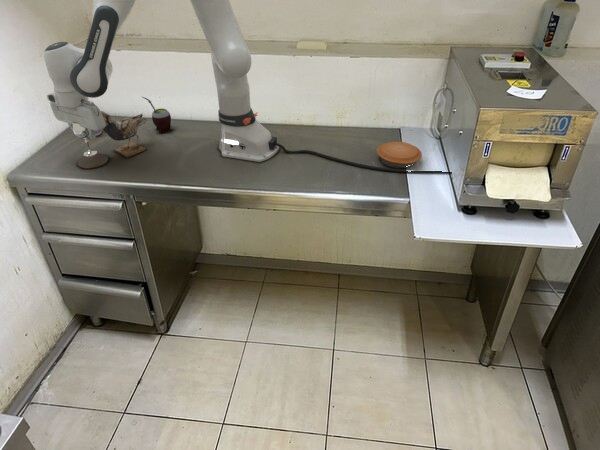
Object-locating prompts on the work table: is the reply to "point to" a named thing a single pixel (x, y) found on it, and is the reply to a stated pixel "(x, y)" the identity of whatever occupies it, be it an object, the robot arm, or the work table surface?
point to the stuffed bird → (124, 132)
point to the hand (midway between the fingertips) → (85, 136)
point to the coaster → (93, 161)
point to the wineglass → (83, 137)
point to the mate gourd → (161, 118)
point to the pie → (398, 154)
